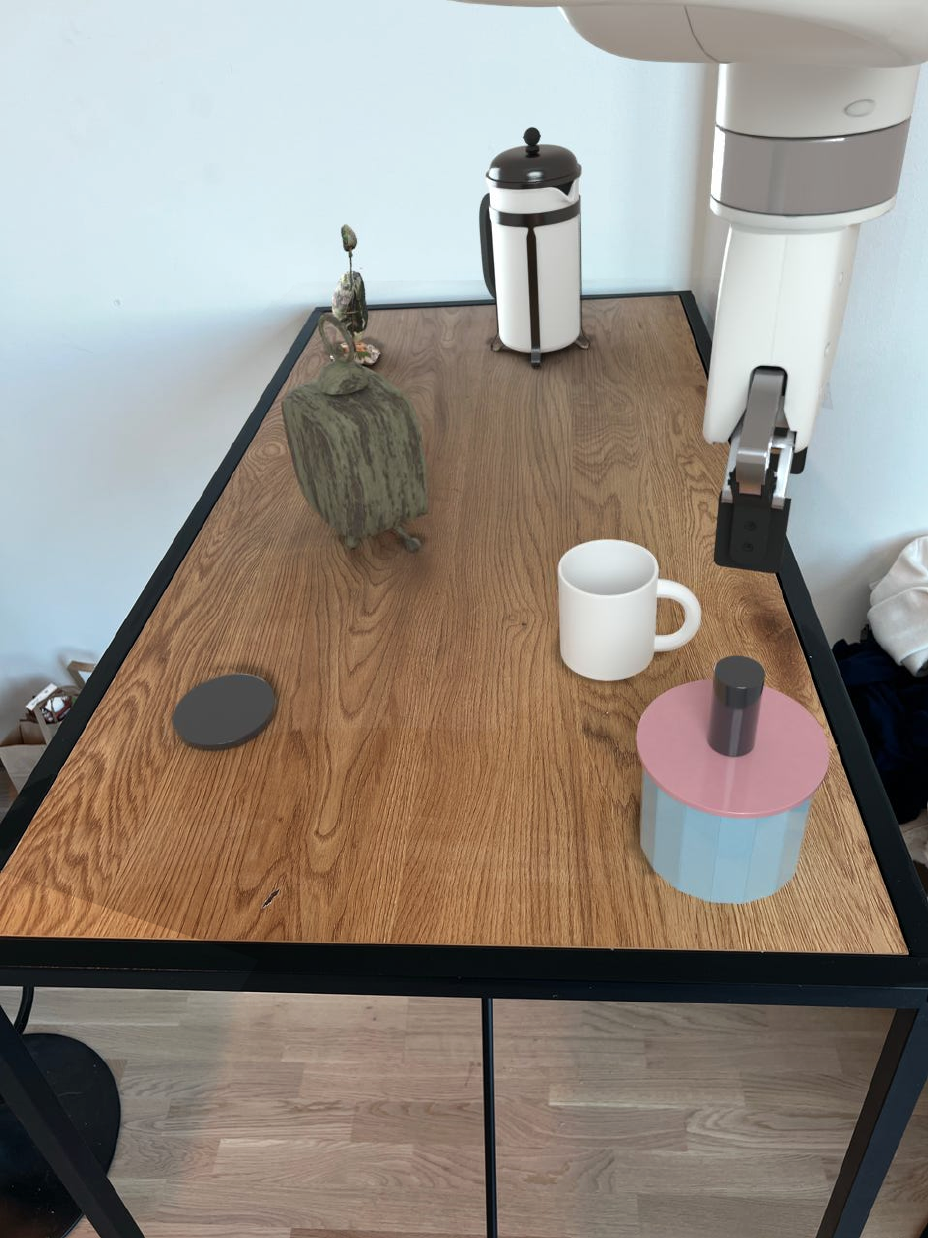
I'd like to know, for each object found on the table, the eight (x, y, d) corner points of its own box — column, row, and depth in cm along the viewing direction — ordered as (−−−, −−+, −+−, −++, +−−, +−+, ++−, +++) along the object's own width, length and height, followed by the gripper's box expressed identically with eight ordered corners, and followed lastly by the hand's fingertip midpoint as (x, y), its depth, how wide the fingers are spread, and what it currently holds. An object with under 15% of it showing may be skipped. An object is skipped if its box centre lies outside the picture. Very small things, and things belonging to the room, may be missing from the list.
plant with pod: (388, 340, 148) (369, 207, 136) (375, 370, 139) (354, 231, 127) (338, 343, 149) (314, 211, 137) (322, 372, 140) (296, 234, 128)
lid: (843, 829, 56) (865, 745, 51) (638, 821, 57) (641, 740, 53) (809, 691, 65) (825, 610, 60) (633, 688, 67) (636, 609, 62)
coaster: (241, 761, 78) (239, 754, 78) (154, 738, 81) (151, 731, 81) (295, 690, 85) (293, 683, 84) (212, 672, 88) (210, 665, 87)
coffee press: (597, 326, 145) (596, 110, 127) (583, 369, 133) (581, 137, 115) (487, 326, 149) (472, 117, 131) (465, 368, 137) (444, 144, 119)
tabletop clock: (437, 553, 100) (408, 324, 84) (362, 585, 96) (317, 353, 81) (373, 499, 110) (337, 286, 94) (304, 527, 106) (254, 310, 91)
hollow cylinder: (810, 919, 62) (835, 815, 56) (641, 910, 64) (646, 809, 57) (785, 792, 71) (804, 689, 64) (637, 787, 72) (641, 687, 66)
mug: (696, 635, 86) (705, 541, 79) (697, 697, 79) (706, 601, 73) (565, 629, 88) (563, 537, 82) (555, 688, 82) (552, 594, 75)
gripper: (745, 120, 46) (718, 432, 57) (670, 228, 34) (653, 599, 45) (910, 118, 44) (850, 445, 55) (891, 233, 32) (819, 626, 42)
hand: (761, 514), depth 50 cm, fingers open, 9 cm apart
